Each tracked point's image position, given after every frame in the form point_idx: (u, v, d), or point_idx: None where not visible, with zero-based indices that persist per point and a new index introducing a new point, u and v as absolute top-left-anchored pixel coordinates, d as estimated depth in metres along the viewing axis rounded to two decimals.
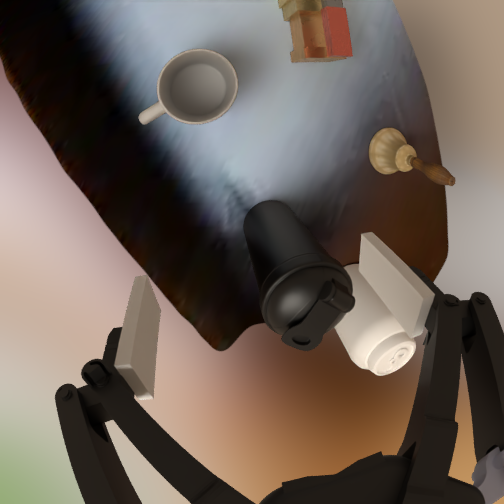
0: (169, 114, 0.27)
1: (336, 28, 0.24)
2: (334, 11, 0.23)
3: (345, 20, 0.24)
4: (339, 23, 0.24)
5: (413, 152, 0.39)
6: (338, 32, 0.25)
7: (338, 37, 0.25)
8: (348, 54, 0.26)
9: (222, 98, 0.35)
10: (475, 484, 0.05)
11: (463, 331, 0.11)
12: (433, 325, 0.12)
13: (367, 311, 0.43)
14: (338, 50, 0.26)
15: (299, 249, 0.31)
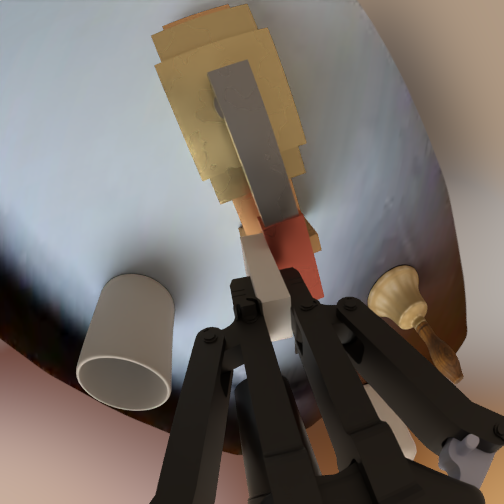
0: None
1: (289, 266, 0.18)
2: (281, 234, 0.16)
3: (305, 242, 0.17)
4: (294, 254, 0.17)
5: (423, 309, 0.30)
6: None
7: None
8: (316, 297, 0.19)
9: None
10: (451, 476, 0.06)
11: None
12: (298, 334, 0.13)
13: None
14: None
15: None
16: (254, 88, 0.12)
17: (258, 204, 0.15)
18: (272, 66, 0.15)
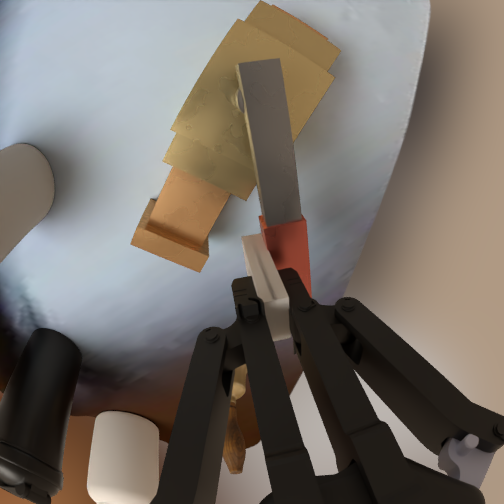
0: None
1: None
2: (281, 236, 0.16)
3: (303, 248, 0.17)
4: (290, 258, 0.17)
5: (239, 392, 0.32)
6: None
7: None
8: None
9: None
10: (451, 476, 0.06)
11: None
12: (297, 334, 0.13)
13: (111, 473, 0.30)
14: None
15: (21, 437, 0.17)
16: (281, 87, 0.12)
17: (264, 202, 0.15)
18: (307, 104, 0.16)
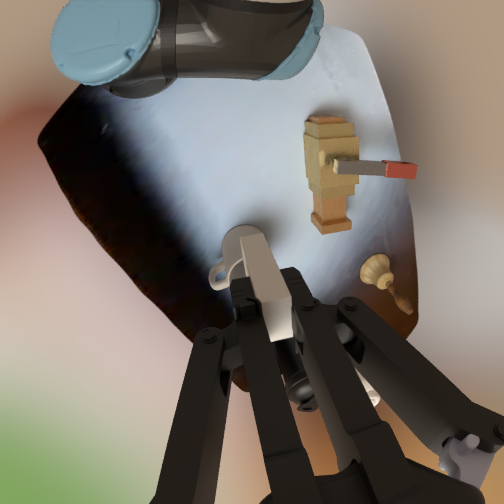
0: None
1: (400, 173, 0.42)
2: (390, 172, 0.42)
3: (396, 165, 0.41)
4: (397, 170, 0.42)
5: (391, 277, 0.60)
6: (403, 172, 0.42)
7: (406, 173, 0.42)
8: (416, 168, 0.42)
9: None
10: (451, 476, 0.06)
11: None
12: (299, 334, 0.13)
13: None
14: (413, 175, 0.42)
15: None
16: (347, 162, 0.40)
17: None
18: (355, 152, 0.43)
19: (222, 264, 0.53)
